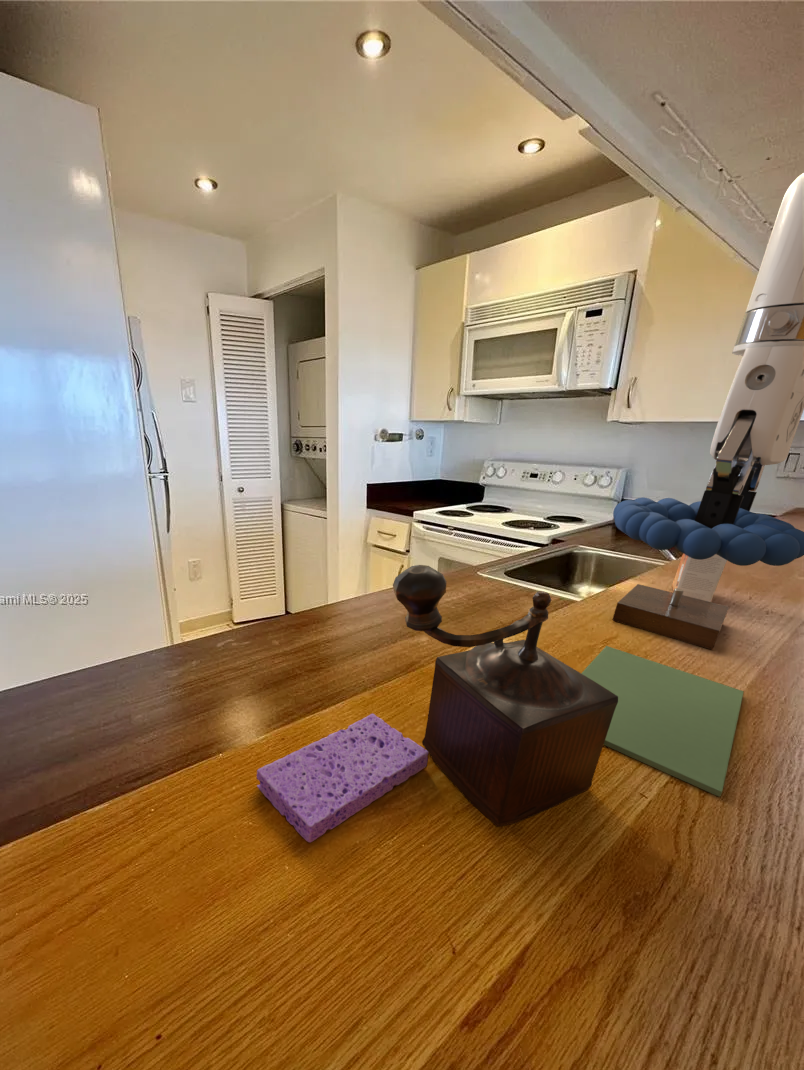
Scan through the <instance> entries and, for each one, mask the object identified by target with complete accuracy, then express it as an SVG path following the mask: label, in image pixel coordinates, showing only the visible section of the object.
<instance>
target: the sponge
mask: <svg viewBox="0 0 804 1070" xmlns="http://www.w3.org/2000/svg"><path fill="white" fill-rule="evenodd" d="M428 756H429V752H428V751H427V750H426V748H425V747H423V746H421V745H419V744H418V743H417V742H415V741H414V740H412V739H411V738H409V737H404V736H403V733H402V732H401V731H399V730H397V729H396V728H394V727H391V725H390V724H388V723H387V722H385V720H384V719H382V718H381V717H379V716H377V715H376V714H375V713H370V714H368V715H367V716H365V717H363V718H361V719H359V720H357V721H355V722H354V723H352V724H350V725H348V726H347V729H339V730H337V731H336V732H335V731H334V732H333V733H330V734H328V735H327V736H325V737H323V738H320V739H319V740H316V741H313V742H311V743H310V744H307V745H305V746H303V747H302V748H299V749H298V750H295V751H293V752H291V753H290V754H287V755H285V756H284V757H282V758H278V759H277V760H274V761H272V762H271V763H268V764H264V766H262V767H259V768H258V769H257V770H256V780H257V781H258V782H259V783H260V784H256V787H257V788H258V790H259V791H260V792H261V793H262V794H263V795H264V797H265V798H266V799H268V801H269V802H270V803H271V805H272V806H273V807H274V809H276V810H277V811H278V812H279V814H280V815H281V816H285V818H286V821H287V822H288V823H289V825H292V826H293V828H294V830H295V832H297V833H298V834H299V835H300V836H301V837H302V838H303V839H304V840H305V841H306V842H308V843H312V842H314V841H315V840H317V839H319V838H320V837H322V836H323V835H324V834H325V833H326V832H327V831H328V830H333V829H335V828H336V827H338V826H340V825H341V824H342V823H343V822H345V821H346V820H348V819H349V818H351V817H353V815H355V814H356V813H358V812H360V811H361V810H363V809H364V808H366V807H368V806H370V805H371V804H372V803H373V802H374V801H376V800H378V799H380V798H381V797H383V796H384V795H385V794H386V793H389V792H390V791H392V790H393V789H394V786H400V784H402V783H405V782H406V781H407V780H409V778H410V777H412V776H415V775H416V774H418V773H419V772H420V771H422V770H423V769H425V768H427V766H428V761H429V760H428V759H429V758H428Z"/></svg>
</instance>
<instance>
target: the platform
mask: <svg viewBox="0 0 804 1070" xmlns="http://www.w3.org/2000/svg"><path fill="white" fill-rule="evenodd" d="M682 594H683V590H682V589H678V588H675V589H674V592H673V591H672V592H671V591H667V590H665V589H660V588H656V587H651V586H647V585H644V584H640V583H637V584H636V585H635V586H634V587H632V588H631V590H629V592H628V593H626V594H625V595H624V596H623V597H622V598H621V599H619V601H618V602H617V603H616V606H615V609H614V610H615V611H614V613H613V616H612V619H611V620H612V621H613V622H617V623H619V624H620V623H621V624H624V625H627V626H630V627H634V628H637V629H640V630H643V631H647V632H650V633H653V634H657V635H660V636H664V637H666V638H671V639H674V640H677V641H680V642H684V643H687V644H690V645H694V646H697V647H700V648H704V649H707V650H710V651H712V650H714V647H715V644H716V642H717V640H718V636H719V634H720V631H721V629H722V626H723V624H724V622H725V620H726V617H727V614H728V611H729V609H730V606H729V605H724V604H720V603H716V602H712V601H711V602H708V601H704V600H700V599H696V598H692V597H688V596H684V595H682Z"/></svg>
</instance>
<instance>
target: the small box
mask: <svg viewBox="0 0 804 1070" xmlns="http://www.w3.org/2000/svg"><path fill="white" fill-rule="evenodd" d="M727 562H728V561H727V560H726V559H724V558H722V557H720V556H719V555H717V554H715V555H714V556H712V557H710V558H707V559H703V560H697V559H693V558H690V557H689V556H687V555H685V554H684V553H682V555H681V558H680V561H679V564H678V567H677V569H676V573H675V575H674V578H673V582H672V584H671V587H672V593H673V592H674V589H675V588H678V589H682V590H683V594H682V595H684V596H688V597H692V598H696V599H700V600H704V601H708V602H712V600H713V597H714V595H715V592H716V590H717V587H718V586H719V585H718V584H719V582H720V580H721V577H722V574H723V572H724V569H725V567H726V564H727Z"/></svg>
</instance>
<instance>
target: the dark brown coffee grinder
mask: <svg viewBox="0 0 804 1070" xmlns="http://www.w3.org/2000/svg"><path fill="white" fill-rule="evenodd" d="M392 589H393V593H394V595H395V597H396V599H397V601H398V602H399V603H400V604H401V605H402V606H403V607H404V608H405V610H406V616H405V617H404V622H405V625H406V627H407V628H409V629H411V630H413V631H416V632H424V633H425V634H426V635H427V636H429V637H431V638H433V639H434V640H436V641H438V642H440V643H442V644H443V645H444V644H445V645H447V646H452V647H459V648H471V649H469V650H465V651H460V652H459V651H458V652H455V653H449V654H446V655H439V656H437V657H436V659H435V662H434V672H433V678H432V685H431V692H430V699H429V706H428V712H427V719H426V725H425V726H426V727H425V733H424V737H423V739H422V741H421V744H422V745H423V746H424V747H423V748H424V749H425V750H427V751H428V752H429V753H428V755H429V756H430V757H431V759H432V760H433V762H434V763H435V765H436V766H437V767H438V768H439V769H440V771H442V772H443V773H444V774H445V776H446V777H447V778H448V779H449V781H450V782H451V783H452V784H453V785H454V786H455V788H457V789H458V791H459V792H460V793H461V794H462V795H463V797H464V798H466V799H467V800H468V802H469V803H470V804H471V805H472V806H473V807H474V808H476V809H477V810H478V811H479V812H480V813H481V814H482V815H483V816H484V817H486V818H487V819H488V820H489V821H490V822H492V823H493V825H495V826H496V827H497V828H498V827H502V826H508V825H513V824H517V823H519V822H522V821H524V820H526V819H529V818H531V817H533V816H536V815H539V814H540V813H543V812H544V811H547V810H550V809H552V808H554V807H556V806H558V805H560V804H562V803H564V802H566V801H568V800H570V799H573V798H574V797H576V796H578V795H580V794H582V793H585V791H587V790H589V789H591V787H592V784H593V779H594V776H595V772H596V770H597V766H598V763H599V759H600V756H601V754H602V751H603V748H604V746H605V745H604V742H605V739H606V736H607V733H608V730H609V726H610V723H611V720H612V717H613V714H614V711H615V708H616V706H617V703H618V696H617V695H615V694H613V693H612V692H610V691H609V690H607V689H606V688H604V687H602V686H601V685H599V684H598V683H596V682H594V681H593V680H591V679H590V678H588V677H586V676H585V675H583V674H581V673H582V672H580V671H578V670H576V669H575V668H573V667H571V666H570V665H568V664H566V663H564V662H563V661H561V660H559V659H557V658H556V657H554V656H553V655H551V654H549V653H548V652H546V651H545V650H543V649H541V648H540V647H538V641H539V637H540V633H541V630H542V626H543V624H544V623H543V622H546V621H548V619H549V611H548V608H549V606H550V605H551V602H552V597H551V595H550V593H549V592H547V591H543V590H539V591H536V592H535V593H534V595H533V596H532V607H530V608H529V610H528V613H527V614H526V615H525V616H523V617H521V618H520V619H517V620H515V621H514V622H512V623H511V624H509V625H506V626H503V627H499V628H497V629H493V630H490V631H486V632H483V633H478V634H476V633H475V634H454V633H452V632H447V631H446V630H444V629H442V628H440V627H439V626H440V625H441V624H442V622H443V616H442V614H441V613H440V611H439V609H438V605H439V604H440V601H441V599H442V598H443V597H444V596H445V594H446V593H447V579H446V578H445V575H444V574H443V573H442V572H440V571H438V570H436V569H435V568H433V567H431V566H430V565H424V564H416V565H411V566H409V567H408V568H406V569H404V570H403V571H402V572H401V573H399V574H398V575H397V576H395V578H394V580H393V583H392ZM526 631H527V632H526ZM524 632H526V637H525V639H520V640H514V641H508V642H504V640H505V639H508V638H511V637H514V636H517V635H520V634H522V633H524Z"/></svg>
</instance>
